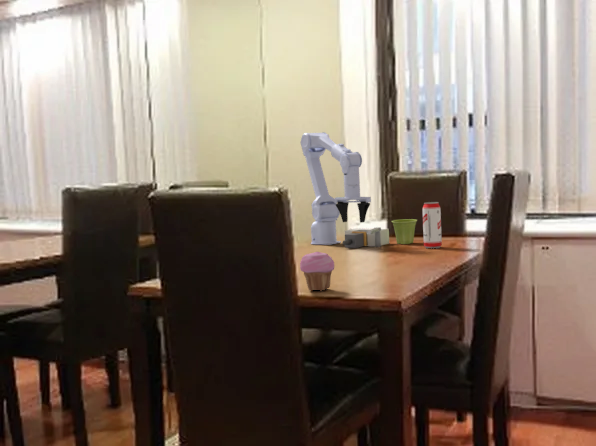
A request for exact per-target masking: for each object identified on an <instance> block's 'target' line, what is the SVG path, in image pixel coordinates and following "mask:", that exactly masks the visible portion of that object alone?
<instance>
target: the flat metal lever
mask: <svg viewBox="0 0 596 446" xmlns="http://www.w3.org/2000/svg"><path fill="white" fill-rule="evenodd" d="M381 229H382V227H378V226H377V227H374V229H371V230H369V231H367V234H373V233H375V232H377V231H381Z"/></svg>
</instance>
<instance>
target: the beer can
mask: <svg viewBox="0 0 596 446" xmlns="http://www.w3.org/2000/svg"><path fill="white" fill-rule="evenodd" d="M441 216H442V213H441V205H440V204H439V201H431V202H430V201H428V202H424V203H423V206H422V230H423V232H422V233H423V247H424V248H425V249H428V248H431V250H433V249H434V248H436V249H440V248H441V246H442V244H443V243H442V240H443V239H442V238H443V237H442V218H441ZM432 248H433V249H432Z"/></svg>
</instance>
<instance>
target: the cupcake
mask: <svg viewBox="0 0 596 446" xmlns="http://www.w3.org/2000/svg"><path fill="white" fill-rule="evenodd" d="M299 269H300V271H301V272H303V275H304V277H305V281H306V285H307V288H308V291H310V290H320V291H319V292H323V291H322V290H325V289H326V290H328V289H327V288H331V277H332V272H333V271H334V270H335V262H334V259H333V258H332V257H331V256H330V255H329V254H328V253H325V252H322V251H321V252H320V251H315V252H311V253H306V254H305V255H303V256H301V259H300V263H299ZM326 290H325V291H326Z"/></svg>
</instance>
